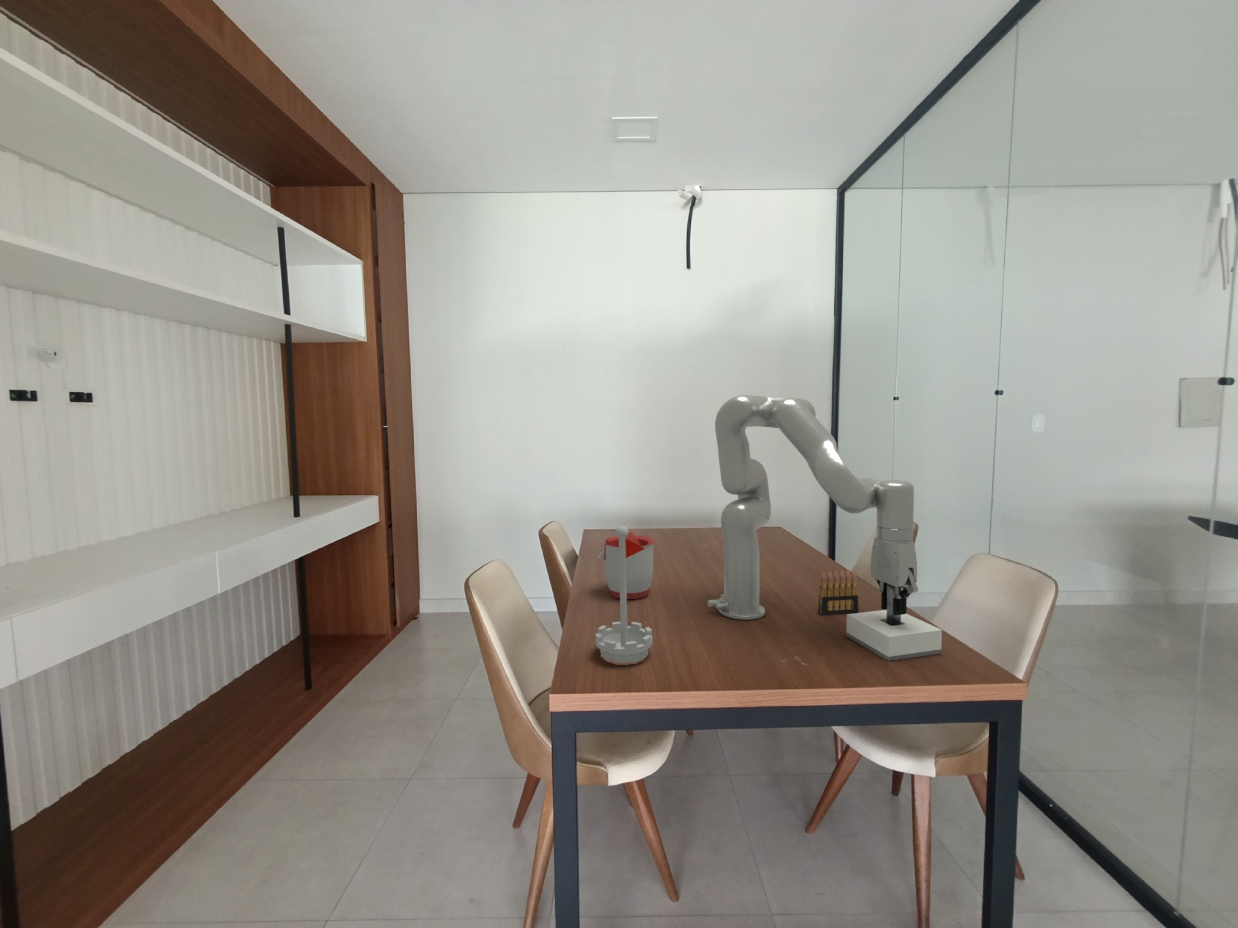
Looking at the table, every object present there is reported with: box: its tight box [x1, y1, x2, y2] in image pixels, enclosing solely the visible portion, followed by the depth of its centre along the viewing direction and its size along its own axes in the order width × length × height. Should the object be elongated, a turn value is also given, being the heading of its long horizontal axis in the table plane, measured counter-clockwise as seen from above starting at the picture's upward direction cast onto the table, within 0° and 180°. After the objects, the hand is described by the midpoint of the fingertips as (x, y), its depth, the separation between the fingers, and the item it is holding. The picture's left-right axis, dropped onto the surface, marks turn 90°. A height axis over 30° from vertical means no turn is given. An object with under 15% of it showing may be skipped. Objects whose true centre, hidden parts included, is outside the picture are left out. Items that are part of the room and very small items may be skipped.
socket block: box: [846, 609, 943, 662], centre depth 123 cm, size 14×14×6 cm
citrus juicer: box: [597, 530, 655, 600], centre depth 162 cm, size 16×17×20 cm
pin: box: [886, 584, 902, 626], centre depth 122 cm, size 3×3×10 cm
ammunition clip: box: [818, 569, 860, 616], centre depth 143 cm, size 11×2×12 cm, turn 96°
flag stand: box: [595, 525, 653, 663], centre depth 119 cm, size 13×13×30 cm
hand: (893, 610), depth 122 cm, fingers closed on pin, 3 cm apart
